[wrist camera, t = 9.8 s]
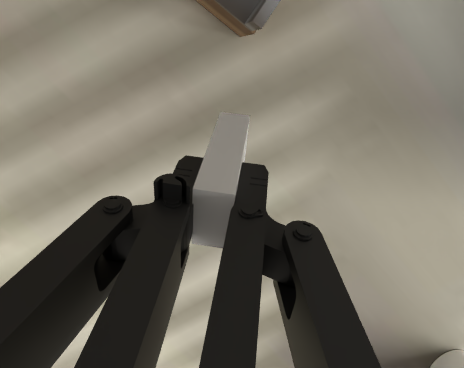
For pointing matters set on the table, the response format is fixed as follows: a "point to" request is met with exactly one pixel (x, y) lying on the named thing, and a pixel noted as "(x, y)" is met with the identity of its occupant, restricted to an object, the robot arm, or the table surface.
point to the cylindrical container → (450, 360)
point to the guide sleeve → (241, 13)
